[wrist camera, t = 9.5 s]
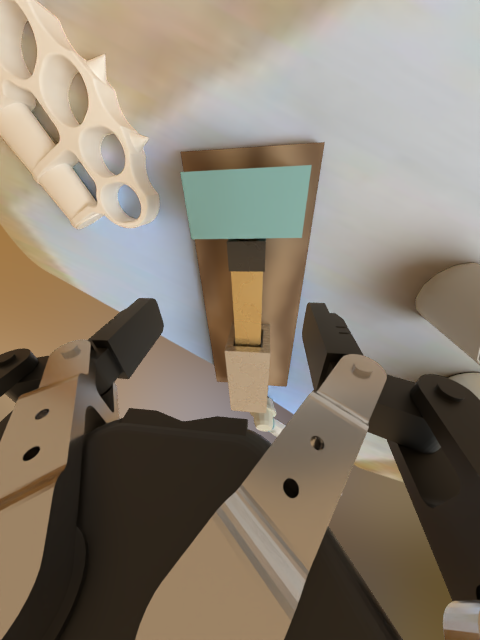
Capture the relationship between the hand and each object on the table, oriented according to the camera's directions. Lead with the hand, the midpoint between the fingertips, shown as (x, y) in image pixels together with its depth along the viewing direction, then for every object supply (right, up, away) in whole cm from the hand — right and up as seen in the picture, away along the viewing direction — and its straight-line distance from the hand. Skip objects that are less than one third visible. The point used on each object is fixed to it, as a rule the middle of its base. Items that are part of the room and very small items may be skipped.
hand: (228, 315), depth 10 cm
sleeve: (+3, -7, +24) cm, 25 cm away
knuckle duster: (-16, +19, +12) cm, 28 cm away
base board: (+2, +3, +20) cm, 20 cm away
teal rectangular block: (+2, +13, +11) cm, 17 cm away
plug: (+2, +4, +15) cm, 16 cm away
